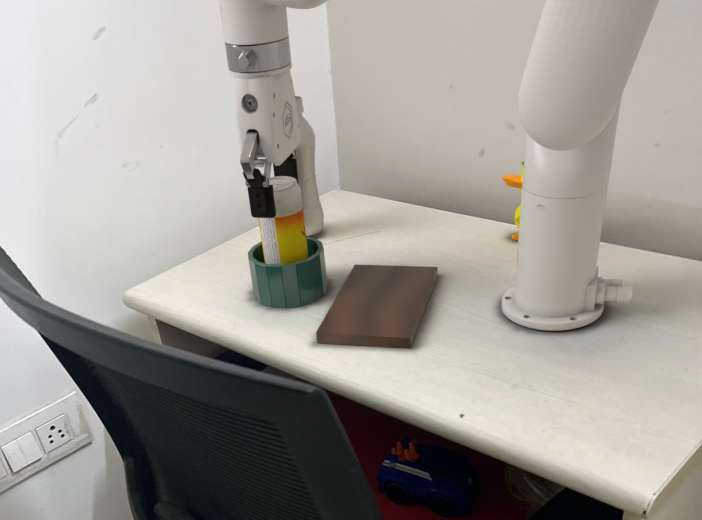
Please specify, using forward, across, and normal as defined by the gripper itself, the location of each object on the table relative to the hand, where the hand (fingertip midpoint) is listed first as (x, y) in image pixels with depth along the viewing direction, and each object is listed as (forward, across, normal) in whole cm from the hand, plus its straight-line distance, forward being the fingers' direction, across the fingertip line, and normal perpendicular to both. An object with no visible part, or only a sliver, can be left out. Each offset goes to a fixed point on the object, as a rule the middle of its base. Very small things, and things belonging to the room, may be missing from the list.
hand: (276, 202), depth 102 cm
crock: (+12, 0, -1) cm, 13 cm away
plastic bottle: (+13, +20, +3) cm, 24 cm away
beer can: (+13, 0, -1) cm, 13 cm away
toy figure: (+12, +20, -31) cm, 39 cm away
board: (+12, -4, -15) cm, 19 cm away
